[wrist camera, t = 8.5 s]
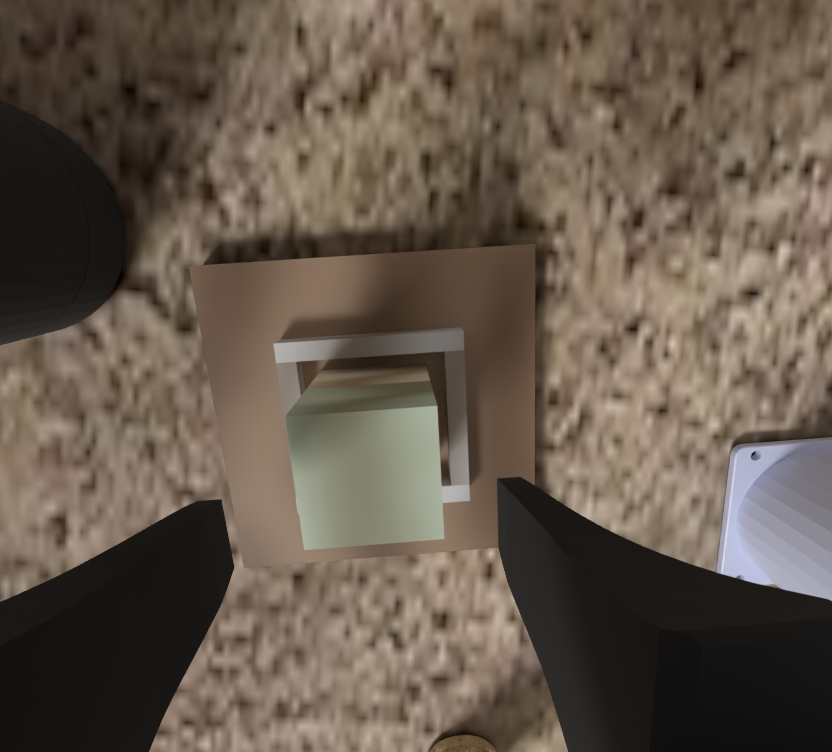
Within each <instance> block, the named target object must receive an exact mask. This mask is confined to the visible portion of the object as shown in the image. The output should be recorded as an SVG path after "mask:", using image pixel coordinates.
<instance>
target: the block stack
mask: <svg viewBox="0 0 832 752" xmlns="http://www.w3.org/2000/svg"><path fill="white" fill-rule="evenodd" d="M285 420H286V427H287V434H288V441H289V448H290V455H291V462H292V469H293V476H294V483H295V490H296V497H297V504H298V511H299V518H300V525H301V532H302V539H303V546H304V550H312V549H325V548H338V547H350V546H363V545H376V544H388V543H401V542H414V541H426V540H439V539H444V520H443V502H442V484H441V465H440V447H439V428H438V410H437V403H436V399H435V396H434V392H433V389H432V385H431V382H430V378H429V374H428V371H427V367H426V364H425V363H423V364H409V365H395V366H380V367H366V368H352V369H338V370H323V371H320V372H319V374H318V375H317V376H316V377H315V379H314V380H313V381H312V383H311V384H310V385H309V386H308V388H307V389H306V390H305V392H304V393H303V394H302V395H301V397H300V398H299V399H298V401H297V402H296V403H295V404H294V406H293V407H292V408H291V410H290V411H289V412H288V414H287V415H286V416H285Z"/></svg>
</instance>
